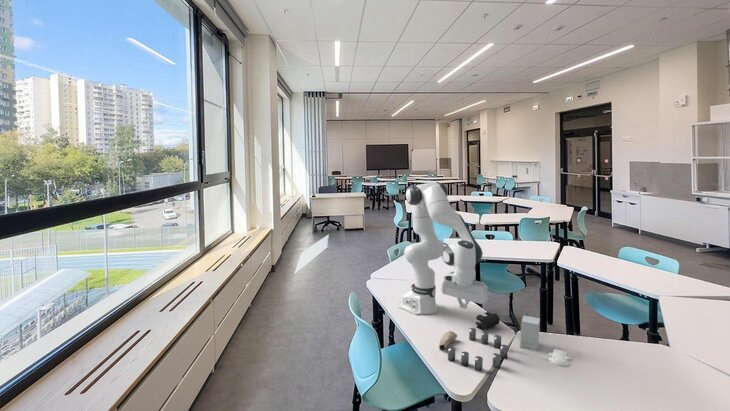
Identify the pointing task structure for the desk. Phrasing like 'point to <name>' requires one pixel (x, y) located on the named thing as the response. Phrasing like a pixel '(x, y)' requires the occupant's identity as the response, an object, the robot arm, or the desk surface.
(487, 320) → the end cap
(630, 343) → the desk surface
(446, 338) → the bone fragment
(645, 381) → the desk surface
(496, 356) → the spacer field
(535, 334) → the supplement box
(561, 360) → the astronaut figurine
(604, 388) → the desk surface
